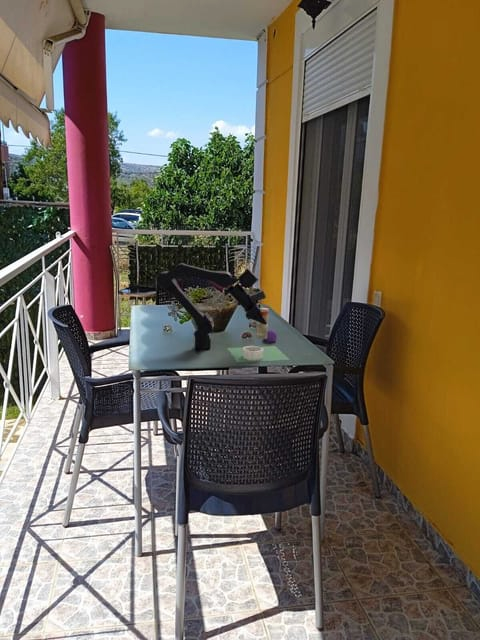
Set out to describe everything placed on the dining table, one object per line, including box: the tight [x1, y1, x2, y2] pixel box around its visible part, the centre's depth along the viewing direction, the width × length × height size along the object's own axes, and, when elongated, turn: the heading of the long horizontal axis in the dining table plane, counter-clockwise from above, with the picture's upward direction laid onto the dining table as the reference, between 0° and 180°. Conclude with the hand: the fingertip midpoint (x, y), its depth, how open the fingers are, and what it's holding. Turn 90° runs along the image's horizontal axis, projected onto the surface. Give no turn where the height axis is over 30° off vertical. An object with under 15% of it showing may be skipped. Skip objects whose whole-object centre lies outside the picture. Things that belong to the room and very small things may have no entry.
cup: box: [242, 345, 264, 360], centre depth 192 cm, size 8×8×4 cm
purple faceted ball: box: [264, 329, 278, 343], centre depth 223 cm, size 6×6×20 cm
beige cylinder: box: [256, 307, 270, 340], centre depth 198 cm, size 4×4×12 cm
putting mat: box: [227, 345, 291, 363], centre depth 196 cm, size 22×19×1 cm
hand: (266, 322), depth 198 cm, fingers closed on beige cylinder, 4 cm apart
